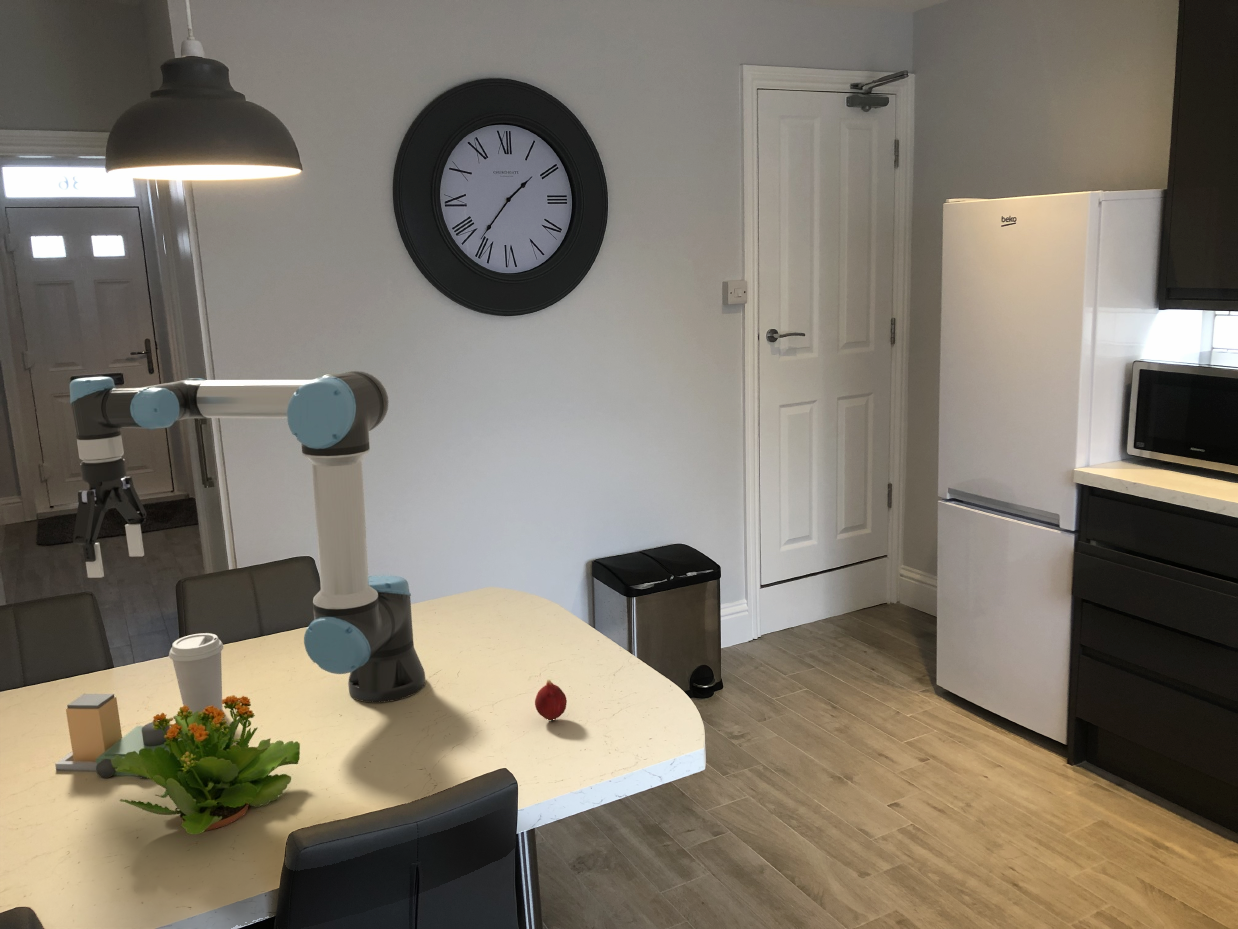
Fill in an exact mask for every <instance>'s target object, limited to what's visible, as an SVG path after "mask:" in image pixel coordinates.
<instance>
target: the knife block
mask: <svg viewBox="0 0 1238 929" xmlns="http://www.w3.org/2000/svg"><path fill="white" fill-rule="evenodd" d="M66 705H67V707H66V708H65V712H66V713H65V714H66V719H67V720H66V721H67V726H68V732H69V739H70V744H71V752H73V759H74V761H86V762H96V758H97V757H99V756H100V755H101V754H102V753H104V752H105V751H106V750H107V749H109V748H110V747H111V746H112V745H114V744H115V743H116V742H117V741H119V740H120V739H121V738H122V737H123V734H122V727H121V720H120V712H119V707H118V706H119V705H118V700H117V696H115V693H83V694H82V695H79V696H78V697H76V699H74V700H73V701H71V702H70V703H68V704H66Z"/></svg>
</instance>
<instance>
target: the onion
mask: <svg viewBox="0 0 1238 929" xmlns="http://www.w3.org/2000/svg"><path fill="white" fill-rule="evenodd" d="M567 702H568V701H567V695H566V694H565V693H564V691H563V690H562V688H560V686H558V685H557V684H554V683H553V682H552V681H551V679H547V680H546V684H545V685H544V686H542V687H541V688H540V689H539V690H538V692H537V693H536V697H535V699H534V706H535V710H536V711H537V713H538V715H540V716H541V717H542V718H544V720H545V719H546V720H547V719H548V720H553V719H555V720H556V718H557V719H559V718H560V717H561V716H562V715H563V714H564V713H565V711H566V709H567ZM548 720H547V721H548Z"/></svg>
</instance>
